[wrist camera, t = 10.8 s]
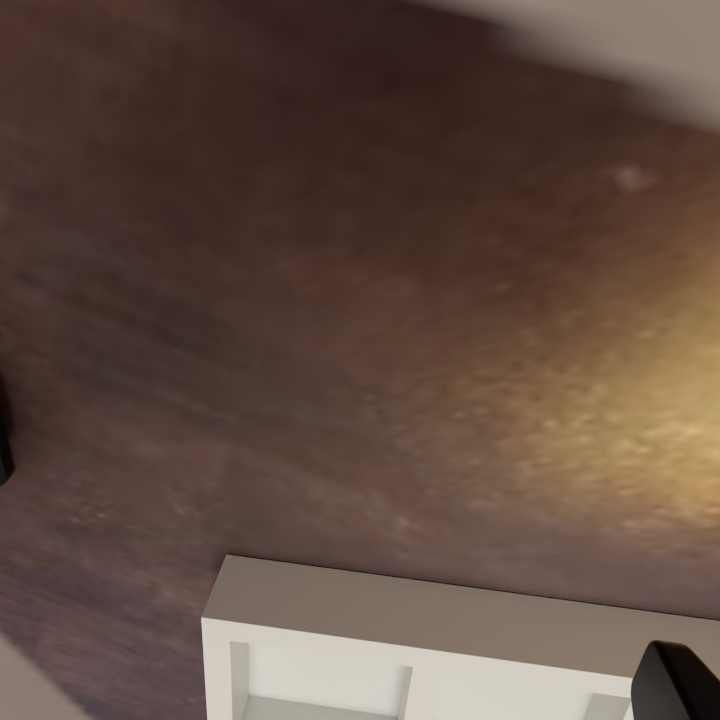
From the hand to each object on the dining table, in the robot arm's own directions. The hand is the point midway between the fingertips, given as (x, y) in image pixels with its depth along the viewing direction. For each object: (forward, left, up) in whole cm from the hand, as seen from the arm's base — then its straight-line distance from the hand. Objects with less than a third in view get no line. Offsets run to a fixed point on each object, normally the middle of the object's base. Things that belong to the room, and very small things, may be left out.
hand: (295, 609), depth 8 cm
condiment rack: (+7, -16, -12) cm, 21 cm away
